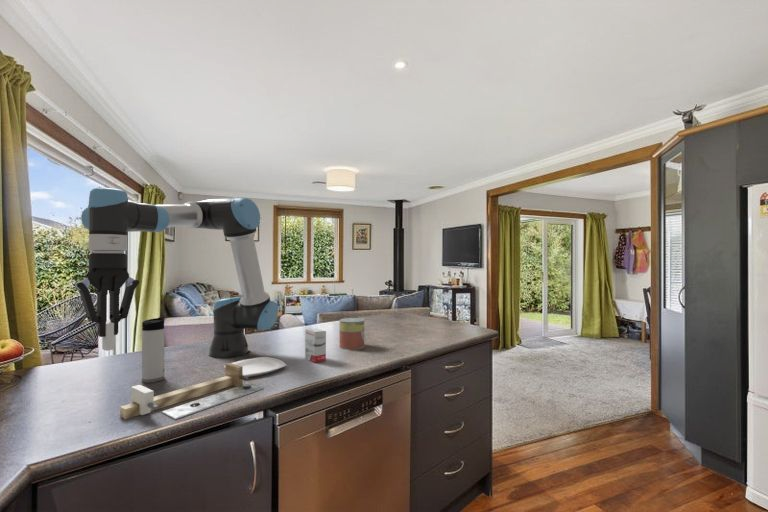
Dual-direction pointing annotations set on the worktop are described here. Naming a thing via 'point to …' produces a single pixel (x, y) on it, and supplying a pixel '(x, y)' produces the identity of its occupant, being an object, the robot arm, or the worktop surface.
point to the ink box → (315, 345)
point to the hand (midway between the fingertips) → (108, 349)
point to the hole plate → (211, 401)
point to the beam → (191, 391)
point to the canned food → (351, 333)
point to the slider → (143, 399)
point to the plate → (259, 366)
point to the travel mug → (153, 350)
